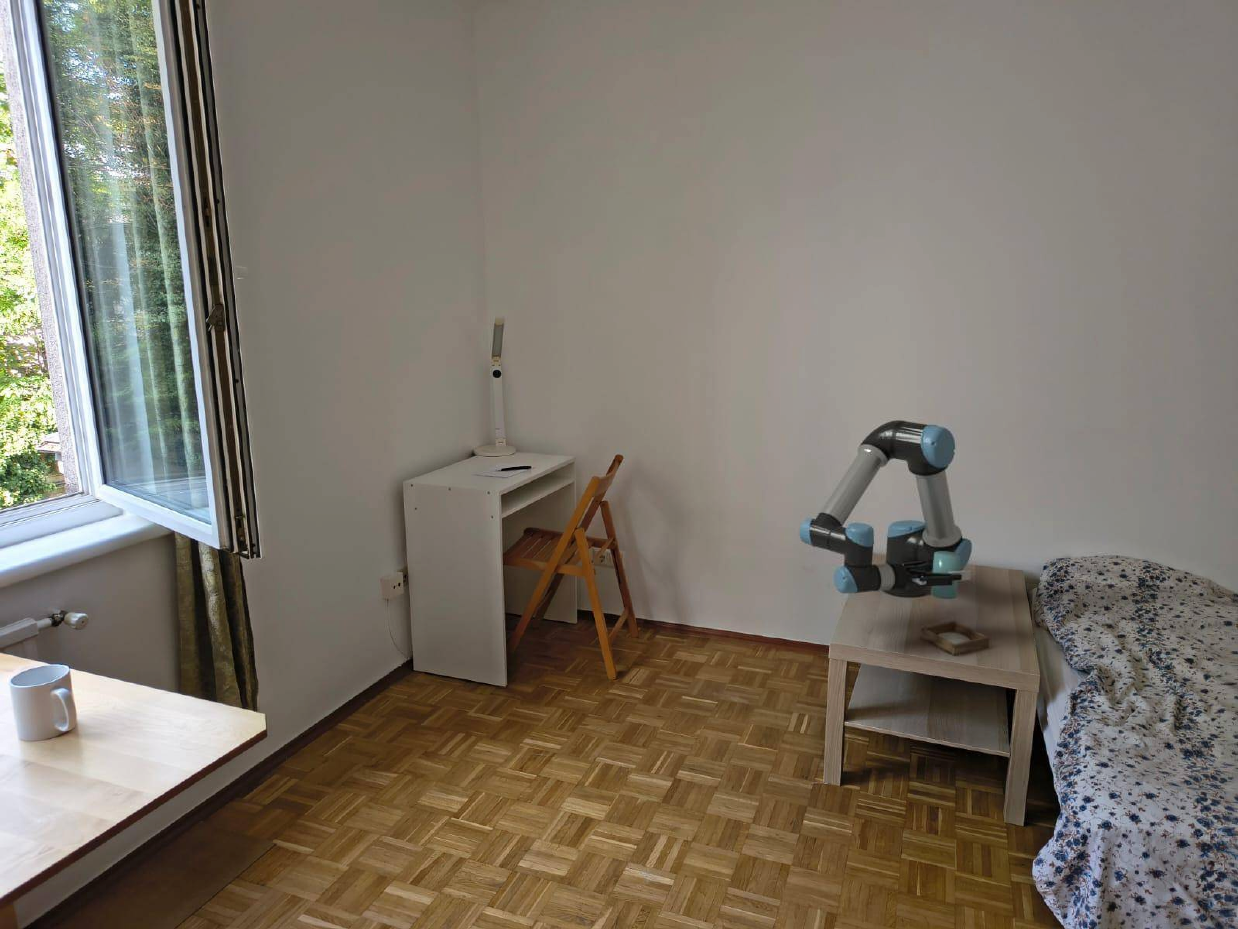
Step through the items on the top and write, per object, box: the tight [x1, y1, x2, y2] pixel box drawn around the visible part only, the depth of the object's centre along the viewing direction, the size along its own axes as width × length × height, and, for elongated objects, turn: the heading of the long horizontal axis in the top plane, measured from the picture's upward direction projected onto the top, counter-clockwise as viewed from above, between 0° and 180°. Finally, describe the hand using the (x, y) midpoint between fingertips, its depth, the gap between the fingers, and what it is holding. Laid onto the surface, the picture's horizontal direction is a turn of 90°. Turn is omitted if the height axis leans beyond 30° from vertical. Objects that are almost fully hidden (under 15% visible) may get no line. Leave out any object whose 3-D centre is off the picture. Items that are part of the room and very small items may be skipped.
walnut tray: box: [919, 620, 990, 657], centre depth 244 cm, size 13×13×3 cm
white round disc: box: [938, 633, 970, 644], centre depth 244 cm, size 9×9×1 cm
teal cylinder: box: [930, 551, 961, 600], centre depth 243 cm, size 7×7×12 cm
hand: (961, 570), depth 244 cm, fingers closed on teal cylinder, 7 cm apart
